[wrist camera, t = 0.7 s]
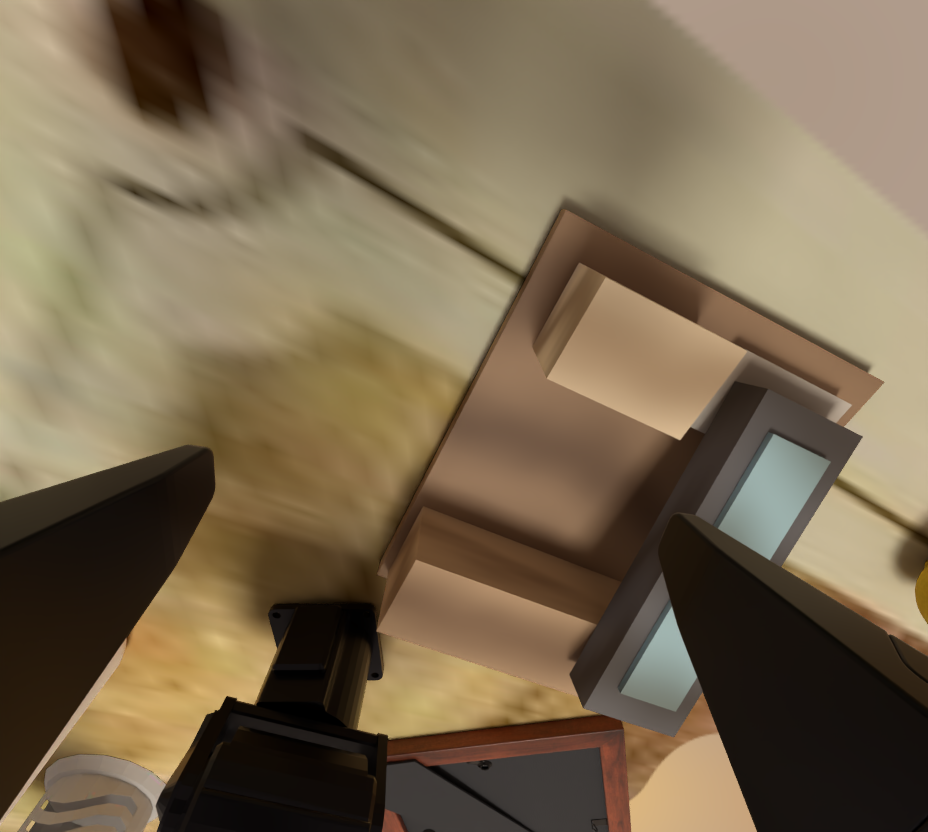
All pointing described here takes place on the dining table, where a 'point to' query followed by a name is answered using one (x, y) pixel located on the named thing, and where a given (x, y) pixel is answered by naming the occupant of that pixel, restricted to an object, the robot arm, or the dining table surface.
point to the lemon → (922, 592)
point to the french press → (96, 796)
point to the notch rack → (579, 449)
